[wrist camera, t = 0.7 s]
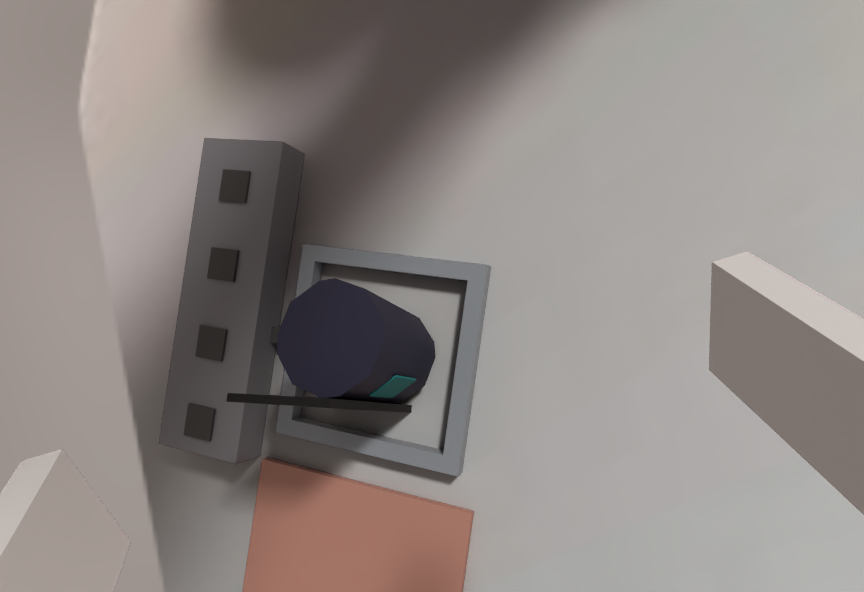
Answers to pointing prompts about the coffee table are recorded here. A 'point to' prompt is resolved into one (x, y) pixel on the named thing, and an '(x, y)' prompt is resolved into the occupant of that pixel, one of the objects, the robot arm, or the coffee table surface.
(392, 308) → the speaker
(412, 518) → the mat
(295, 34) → the coffee table surface
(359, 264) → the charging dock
